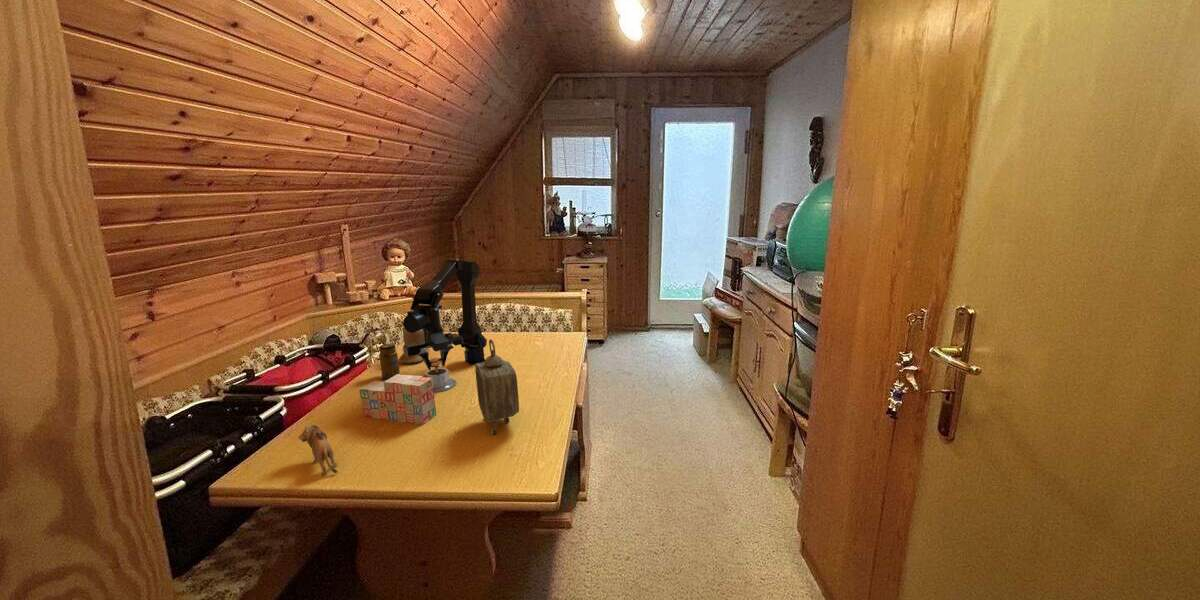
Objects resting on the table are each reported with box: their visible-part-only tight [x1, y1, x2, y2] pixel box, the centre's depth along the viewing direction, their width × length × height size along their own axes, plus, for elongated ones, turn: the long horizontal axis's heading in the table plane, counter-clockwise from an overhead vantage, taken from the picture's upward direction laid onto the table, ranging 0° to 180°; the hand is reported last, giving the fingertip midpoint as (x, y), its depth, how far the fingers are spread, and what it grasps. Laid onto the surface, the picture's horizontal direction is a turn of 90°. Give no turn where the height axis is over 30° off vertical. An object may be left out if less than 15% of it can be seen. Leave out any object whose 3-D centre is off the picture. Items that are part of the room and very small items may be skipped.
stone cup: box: [398, 327, 431, 364], centre depth 191 cm, size 15×12×15 cm
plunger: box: [429, 357, 443, 375], centre depth 163 cm, size 5×5×8 cm
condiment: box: [377, 343, 401, 382], centre depth 172 cm, size 7×8×12 cm
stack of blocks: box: [359, 374, 437, 426], centre depth 141 cm, size 21×6×12 cm, turn 74°
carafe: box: [422, 367, 451, 389], centre depth 163 cm, size 10×8×5 cm
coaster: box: [434, 377, 457, 394], centre depth 164 cm, size 12×12×1 cm
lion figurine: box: [298, 424, 338, 476], centre depth 117 cm, size 15×5×9 cm, turn 52°
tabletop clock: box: [474, 338, 520, 435], centre depth 133 cm, size 14×9×25 cm, turn 23°
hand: (436, 368), depth 163 cm, fingers closed on plunger, 4 cm apart
